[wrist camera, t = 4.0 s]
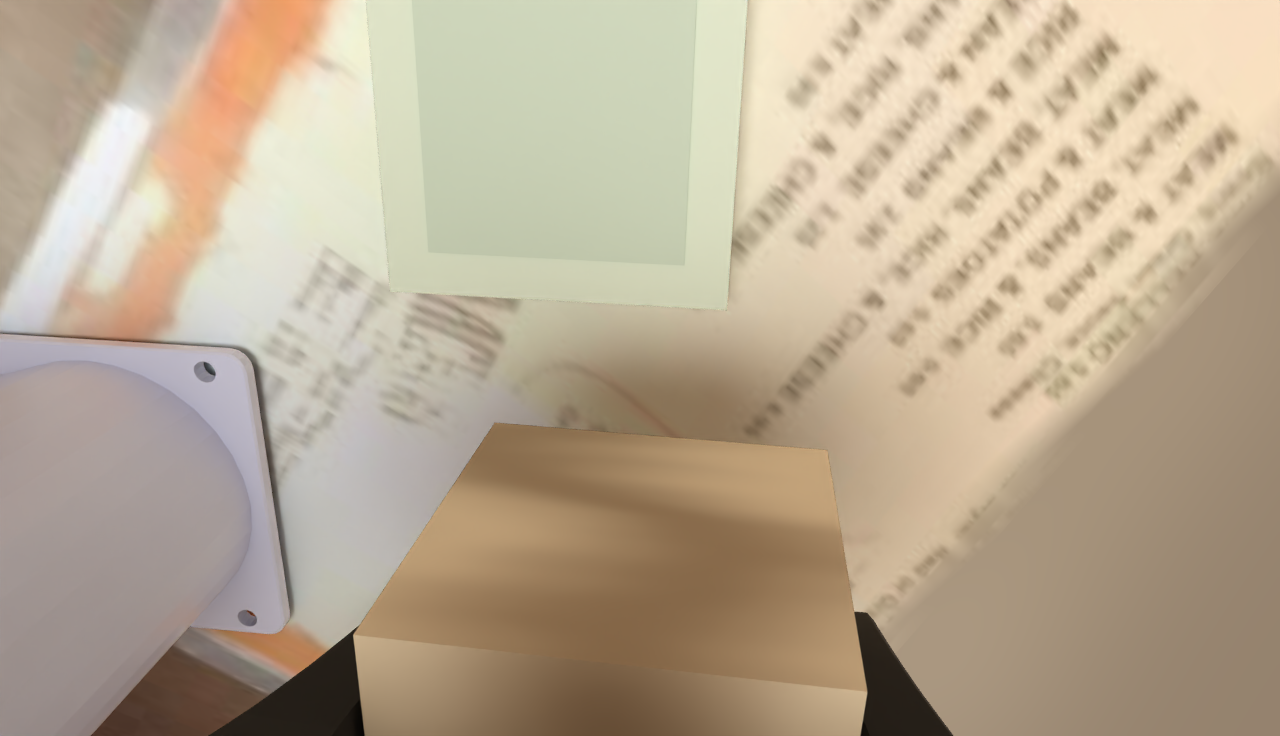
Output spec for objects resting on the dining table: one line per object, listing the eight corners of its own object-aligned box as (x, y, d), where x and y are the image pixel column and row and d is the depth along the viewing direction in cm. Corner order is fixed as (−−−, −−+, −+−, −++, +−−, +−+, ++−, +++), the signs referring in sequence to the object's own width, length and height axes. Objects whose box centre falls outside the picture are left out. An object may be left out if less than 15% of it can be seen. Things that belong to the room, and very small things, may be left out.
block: (504, 683, 15) (391, 973, 10) (494, 422, 13) (353, 634, 9) (795, 716, 14) (812, 1038, 10) (827, 449, 13) (867, 691, 8)
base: (414, 272, 19) (388, 292, 18) (389, -77, 17) (356, -87, 15) (727, 289, 19) (727, 311, 17) (751, -70, 16) (753, -79, 15)
